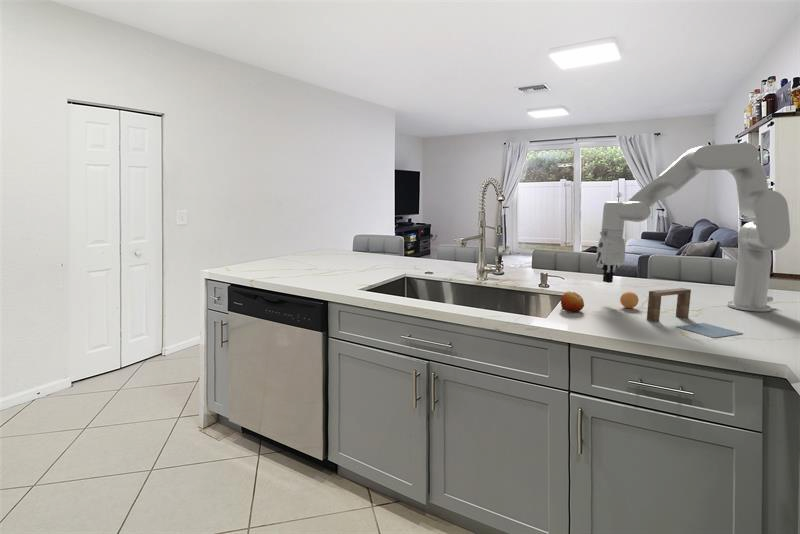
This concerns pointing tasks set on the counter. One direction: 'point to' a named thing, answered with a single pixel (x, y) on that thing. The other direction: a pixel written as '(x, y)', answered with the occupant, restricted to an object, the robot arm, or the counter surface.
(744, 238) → the robot arm
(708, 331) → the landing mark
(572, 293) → the fruit
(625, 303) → the ball
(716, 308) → the counter surface
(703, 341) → the counter surface
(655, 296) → the bridge
